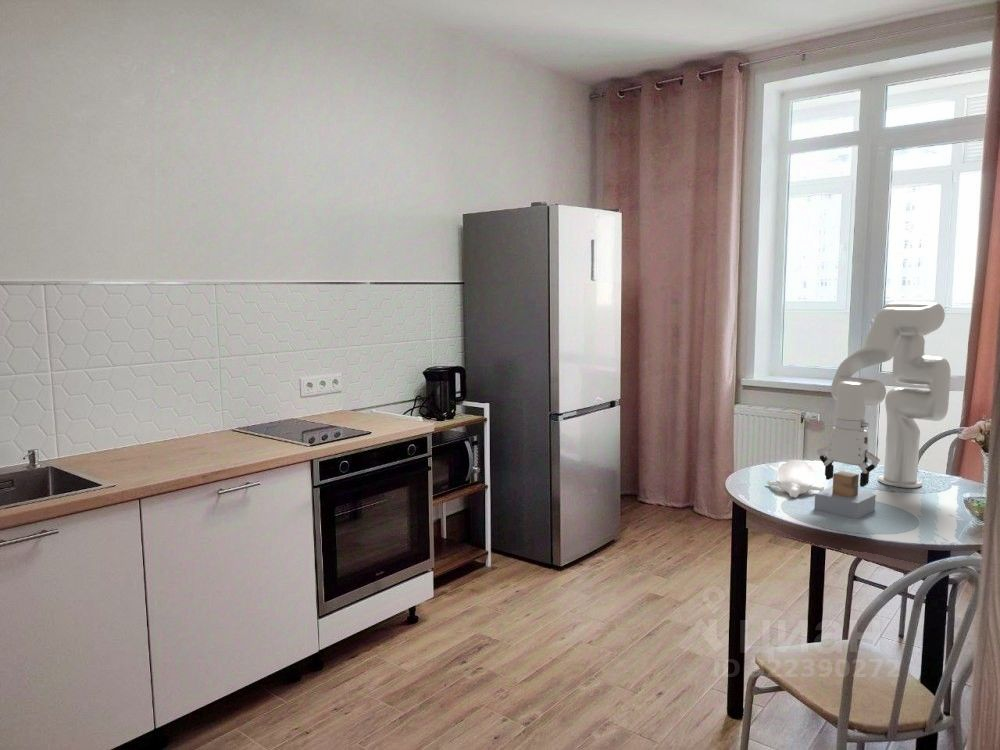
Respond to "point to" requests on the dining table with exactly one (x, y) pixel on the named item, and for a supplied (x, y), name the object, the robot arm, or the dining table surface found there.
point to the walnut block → (845, 484)
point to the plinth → (845, 503)
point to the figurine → (795, 478)
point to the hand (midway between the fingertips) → (846, 482)
